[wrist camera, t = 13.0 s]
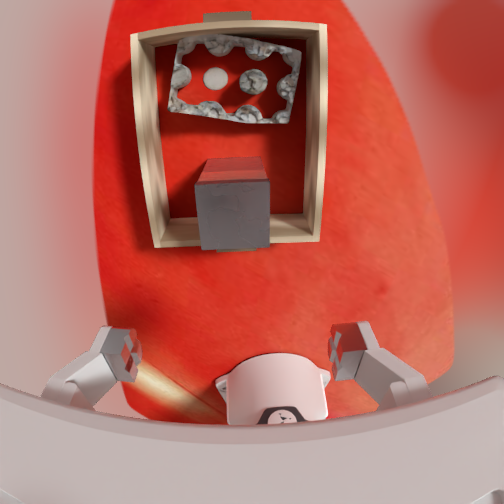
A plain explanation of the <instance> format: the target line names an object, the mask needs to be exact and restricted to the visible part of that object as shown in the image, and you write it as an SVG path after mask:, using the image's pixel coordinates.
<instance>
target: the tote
mask: <svg viewBox="0 0 504 504" xmlns="http://www.w3.org/2000/svg"><path fill="white" fill-rule="evenodd" d="M208 34H221V35H228V36H236V37H241V38H280V39H300V40H306V151H305V179H304V201H303V213H297V214H270V243H287V242H317V241H319V238H320V227H321V216H322V204H323V190H324V175H325V158H326V136H327V100H328V52H327V24H319V23H309V22H296V21H276V20H251V11H240V12H220V13H207V14H203V23H196V24H188V25H180V26H173V27H167V28H161V29H155V30H150V31H145V32H140V33H135V34H131V67H132V86H133V100H134V112H135V123H136V132H137V141H138V150H139V158H140V165H141V172H142V179H143V186H144V192H145V198H146V204H147V210H148V216H149V221H150V227H151V232H152V237H153V242H154V247H155V248H160V247H184V246H201V241H200V233H199V224H198V217H190V218H173V219H171V218H170V211H169V204H168V197H167V189H166V181H165V173H164V165H163V156H162V147H161V136H160V126H159V114H158V100H157V84H156V64H155V47H159V46H165V45H172V44H178V42H179V40H181V39H183V38H185V37H191V36H199V35H208ZM234 251H256V248H240V249H217V252H234Z"/></svg>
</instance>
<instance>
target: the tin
mask: <svg viewBox="0 0 504 504" xmlns="http://www.w3.org/2000/svg"><path fill="white" fill-rule="evenodd" d="M194 187H195V197H196V207H197V216H198V224H199V233H200V241H201V249H202V250H215V249H240V248H265V247H270V181H269V178H267V176H266V172H265V170H264V167H263V163H262V160H261V157H260V156H259V157H231V158H213V159H208V160H207V162H206V164H205V167H204V169H203V171H202V173H201V175H200V177H199V179H198V182H195V185H194Z"/></svg>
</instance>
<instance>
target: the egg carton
mask: <svg viewBox="0 0 504 504" xmlns="http://www.w3.org/2000/svg"><path fill="white" fill-rule="evenodd" d="M196 44H205V46H206V48H207V49H208V51H209V52H210V53H211V54H213V55H215V56H225V55H227V54H228V53H229V52H231V50H232V49H233V47H234V46H238V47H244V48H245V52H246V54H247V56H248V57H249V58H251V59H253V60H257V61H260V60H264V59H266V58H267V57H268V56H269V55H270V54H271V53H272V52H273V51H274V52H279V53H280V54H282V58H283V60H284V62H285V63H286V64H288V65H289V66H291V67H292V73H291V74H289V75H286V77H284V78H282V79H281V80H279V82H278V83H277V86H276V88H277V92H278V94H279V95H280V96H281V97H282V98H284V99H286V100H287V105H286V109H285V110H280V111H277V112H276V113H275V114H274V115H273V116H272V118H269V119H264V118H263V117H262V115H261V113H260V111H259V110H258V109H257V108H256V107H254V106H252V105H243V106H241V107H240V108H238V110H237V111H236V113H227V114H226V112H225V111H224V109H223V107H222V106H221V105H220V104H219V103H217V102H215V101H204V102H201V103H200V104H199V105H189V104H186V103H185V102H184V101H182V100H180V99H178V98H177V93H178V88H182V87H185V86H186V85H188V83H189V82H190V80H191V71H190V69H189V68H187V67H186V66H184V65H182V64H181V61H182V57H183V55H186V54H188V53H190V52H192V51H193V50H194V48H195V46H196ZM301 53H302V52H300V51H299V50H296V49H292V48H289V47H285V46H281V45H275V44H271V43H268V42H262V41H258V40H255V39H249V38H241V37H236V36H228V35H221V34H208V35H199V36H191V37H185V38H183V39H181V40H179V42H178V46H177V51H176V57H175V62H174V69H173V74H172V80H171V90H170V95H169V103H168V111H170V112H177V113H186V114H193V115H200V116H206V117H213V118H219V119H226V120H231V121H236V122H242V123H289V119H290V113H291V109H292V104H293V99H294V95H295V90H296V85H297V80H298V76H299V70H300V64H301ZM267 81H268V80H267V78H266V76H265V74H264V73H263V72H261V71H260V70H258V69H251V70H248V71H245V72H244V73H243V74H242V75H241V77H240V82H239V83H240V88H241V90H242V91H244V92H246V93H248V94H253V95H255V94H259V93H261V92H262V91H264V90H265V88H266V86H267ZM203 82H204V84H205V86H206V87H207V88H209V89H211V90H219V89H221V88H223V87H224V86H225V85H226V84H227V82H228V76H227V73H226V72H225V71H224V70H223V69H221V68H217V67H214V68H210V69H209V70H208V71H206V72H205V74H204V76H203Z"/></svg>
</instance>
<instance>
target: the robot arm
mask: <svg viewBox="0 0 504 504" xmlns="http://www.w3.org/2000/svg"><path fill="white" fill-rule="evenodd" d="M330 332H331V335H332V336H331V337H330V338H329V341H328V356H329V360H330V361H331V362H332V363H333V366H332V372H333V375H334V379H335V381H340V380H349V379H354V380H355V381H356V382H357V383H358V384H359V385H360V386H361V387H362V388H363V389H364V390H365V391H366V392H367V393H368V394H369V395H370V396H371V397H372V398H373V399H374V400H375V401H376V402H377V403H378V404H379V407H378V408H377V410H376V411H374V412H369V413H363V414H358V415H352V416H345V417H339V418H331V419H325V418H326V417H327V416H328V410H327V404H326V397H325V391H324V388H325V387H326V385H327V384H328V382H329V381H330V379H331V376H330V372H329V371H327V370H324V369H320V368H318V367H317V366H316V365H315V364H314V363H313V362H311V361H310V360H309V359H307V358H305V357H302V356H299V355H295V354H288V353H273V354H266V355H261V356H257V357H254V358H251V359H248V360H246V361H244V362H242V363H241V364H239V365H238V366H237V367H235V368H234V369H233V370H232V371H231V372H230V373H229V374H226V375H224V376H221V377H219V378H217V379H216V381H215V382H216V387H217V389H218V391H219V392H220V394H221V396H222V397H223V399H224V401H225V402H226V404H227V422H228V424H229V425H211V424H190V423H176V422H165V421H156V420H147V419H140V418H133V417H125V416H120V415H114V414H108V413H103V412H98V411H95V409H94V408H93V406H94V405H95V404H96V403H97V402H98V401H99V400H100V399H101V398H102V397H103V396H104V395H105V393H107V392H108V391H109V390H110V389H111V388H112V387H113V386H114V384H115V383H117V381H126V382H135V379H136V376H137V373H138V369H137V367H136V366H137V365H138V364H139V363H141V360H142V352H143V351H142V345H141V343H140V341H139V340H137V339H136V337H137V332H136V330H135V329H134V328H127V327H116V326H102V327H101V328H100V330H99V332H98V334H97V336H96V338H95V340H94V342H93V344H92V346H91V348H90V350H89V352H88V351H86V352H84V353H83V354H82V355H80V356H79V357H77V358H76V359H75V360H73V361H72V362H70V363H69V364H68V365H66V366H65V367H63V368H62V369H61V370H59V371H58V372H57V373H55V374H54V375H52V376H51V377H50V378H49V380H48V383H47V384H46V387H45V389H44V391H43V393H42V395H41V397H38V396H35V395H32V394H29V393H26V392H23V391H19V390H17V389H14V388H11V387H9V386H6V385H3V384H1V383H0V504H504V378H502V377H500V376H492V377H489V378H487V379H484V380H482V381H479V382H477V383H474V384H471V385H468V386H466V387H463V388H460V389H457V390H454V391H451V392H448V393H445V394H441V395H438V396H435V397H433V396H432V394H431V392H430V390H429V387H428V385H427V383H426V381H425V379H424V376H423V375H422V374H420V373H419V372H417V371H416V370H414V369H413V368H412V367H410V366H409V365H407V364H406V363H404V362H403V361H401V360H400V359H399V358H397V357H396V356H394V355H393V354H391V353H390V352H388V351H387V350H386V349H384V348H380V347H379V345H378V342H377V340H376V338H375V335H374V333H373V331H372V329H371V327H370V324H369V322H368V321H361V322H352V323H342V324H333V325H332V327H331V331H330Z"/></svg>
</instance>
